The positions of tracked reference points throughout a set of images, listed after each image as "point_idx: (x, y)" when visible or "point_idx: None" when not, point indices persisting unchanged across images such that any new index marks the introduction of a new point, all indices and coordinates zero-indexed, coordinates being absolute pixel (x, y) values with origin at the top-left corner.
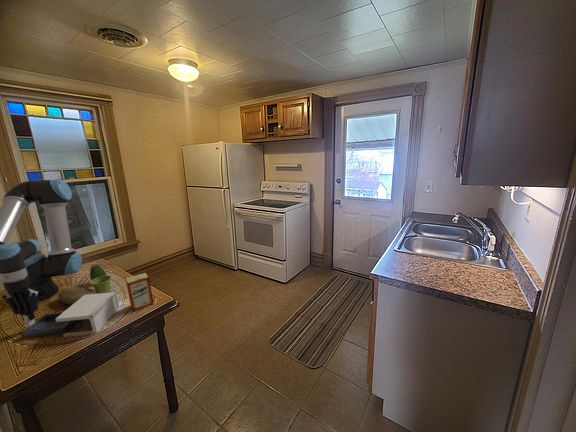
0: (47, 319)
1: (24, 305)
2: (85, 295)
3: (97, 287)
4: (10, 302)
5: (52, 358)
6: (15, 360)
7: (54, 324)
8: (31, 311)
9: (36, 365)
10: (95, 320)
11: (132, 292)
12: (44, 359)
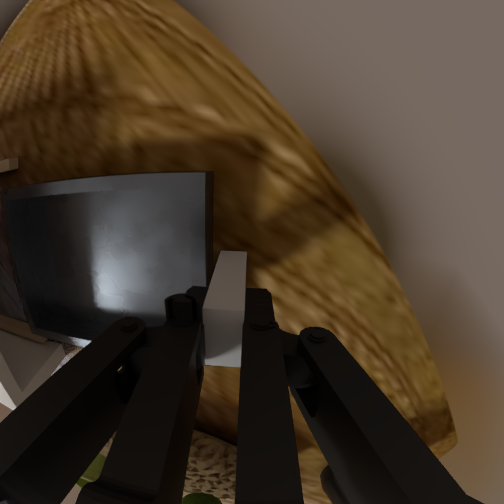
0: None
1: (159, 416)
2: (11, 405)
3: (100, 467)
4: (398, 484)
5: (11, 47)
6: (124, 8)
7: (113, 272)
8: (124, 327)
9: (40, 13)
10: None
11: None
12: (28, 37)
